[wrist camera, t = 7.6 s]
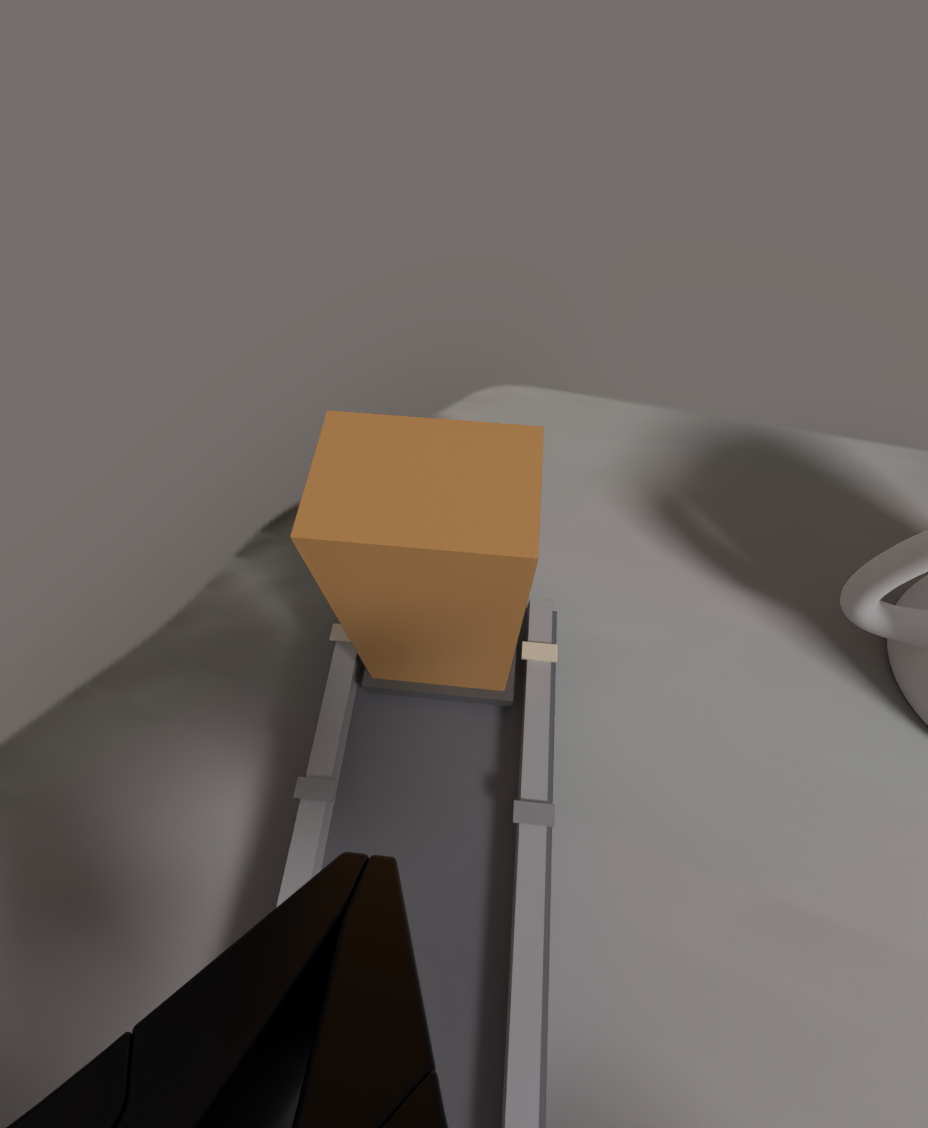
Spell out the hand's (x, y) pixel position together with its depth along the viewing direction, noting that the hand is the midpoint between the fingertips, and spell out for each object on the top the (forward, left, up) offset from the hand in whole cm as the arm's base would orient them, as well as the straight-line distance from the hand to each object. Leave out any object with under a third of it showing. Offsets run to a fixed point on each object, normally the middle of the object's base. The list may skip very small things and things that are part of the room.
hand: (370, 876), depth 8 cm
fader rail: (+1, 0, -10) cm, 11 cm away
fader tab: (+7, 0, -9) cm, 11 cm away
